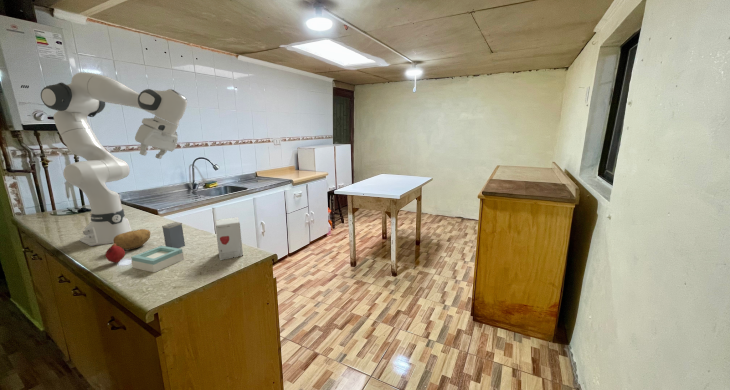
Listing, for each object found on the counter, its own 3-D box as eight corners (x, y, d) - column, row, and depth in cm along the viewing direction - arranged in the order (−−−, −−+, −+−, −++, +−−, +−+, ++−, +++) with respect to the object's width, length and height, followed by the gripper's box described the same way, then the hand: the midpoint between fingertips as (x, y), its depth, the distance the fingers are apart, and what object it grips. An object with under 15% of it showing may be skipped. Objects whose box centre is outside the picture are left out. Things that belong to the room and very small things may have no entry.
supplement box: (219, 260, 117) (215, 225, 114) (219, 252, 125) (214, 219, 122) (243, 256, 121) (239, 222, 118) (241, 248, 129) (238, 216, 126)
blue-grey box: (165, 249, 129) (161, 226, 127) (178, 244, 135) (175, 222, 132) (172, 250, 128) (168, 227, 125) (185, 245, 133) (181, 222, 131)
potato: (157, 244, 136) (154, 227, 134) (122, 255, 123) (119, 237, 122) (145, 240, 140) (142, 225, 138) (110, 251, 127) (106, 234, 126)
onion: (115, 266, 113) (111, 247, 111) (103, 265, 114) (99, 246, 112) (130, 260, 119) (126, 241, 117) (118, 259, 120) (114, 240, 118)
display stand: (132, 267, 112) (130, 256, 111) (163, 255, 123) (161, 245, 122) (154, 272, 108) (152, 261, 107) (183, 259, 119) (182, 249, 118)
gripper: (172, 130, 134) (159, 157, 134) (139, 117, 114) (124, 149, 113) (184, 135, 134) (172, 162, 134) (154, 123, 114) (140, 155, 113)
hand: (150, 156), depth 123 cm, fingers open, 8 cm apart
